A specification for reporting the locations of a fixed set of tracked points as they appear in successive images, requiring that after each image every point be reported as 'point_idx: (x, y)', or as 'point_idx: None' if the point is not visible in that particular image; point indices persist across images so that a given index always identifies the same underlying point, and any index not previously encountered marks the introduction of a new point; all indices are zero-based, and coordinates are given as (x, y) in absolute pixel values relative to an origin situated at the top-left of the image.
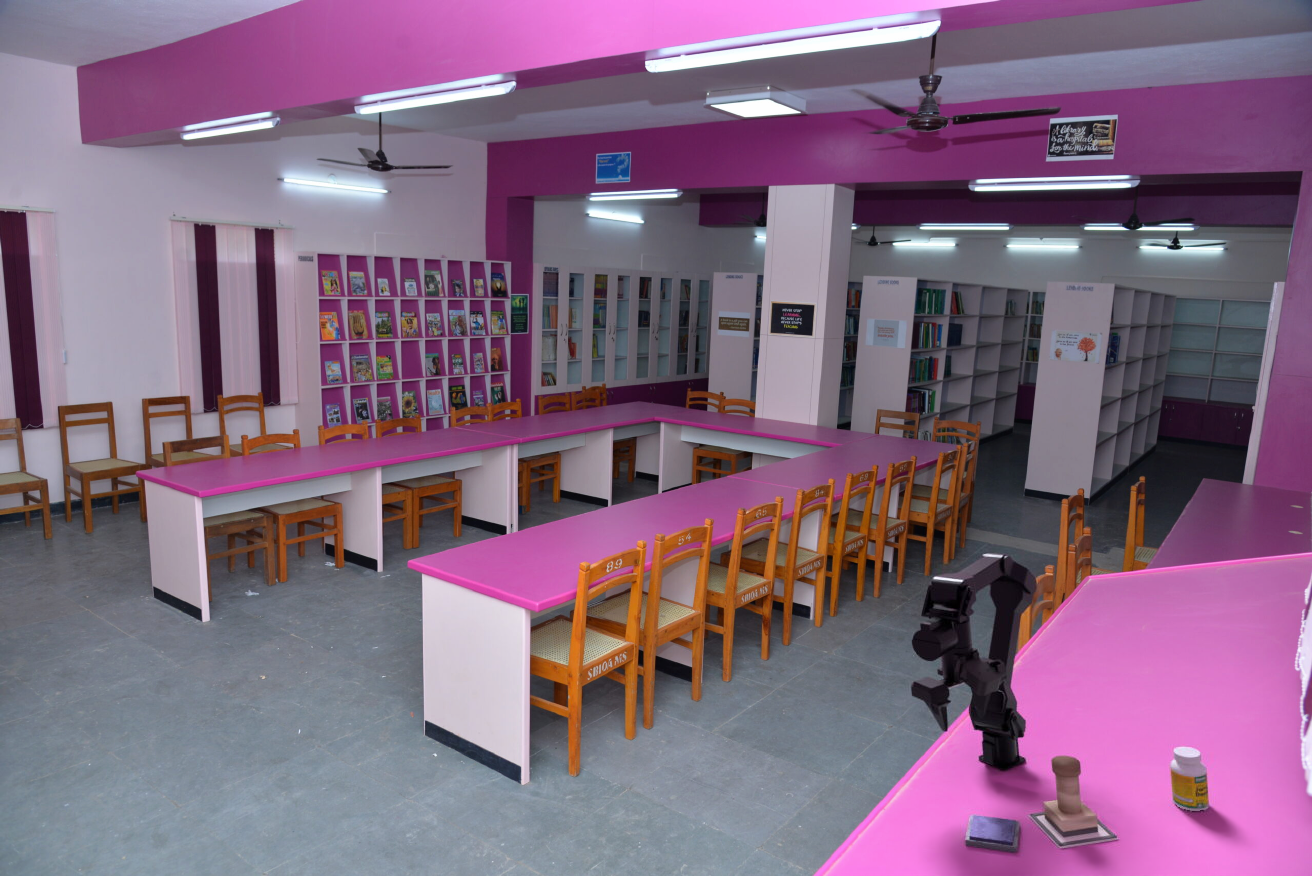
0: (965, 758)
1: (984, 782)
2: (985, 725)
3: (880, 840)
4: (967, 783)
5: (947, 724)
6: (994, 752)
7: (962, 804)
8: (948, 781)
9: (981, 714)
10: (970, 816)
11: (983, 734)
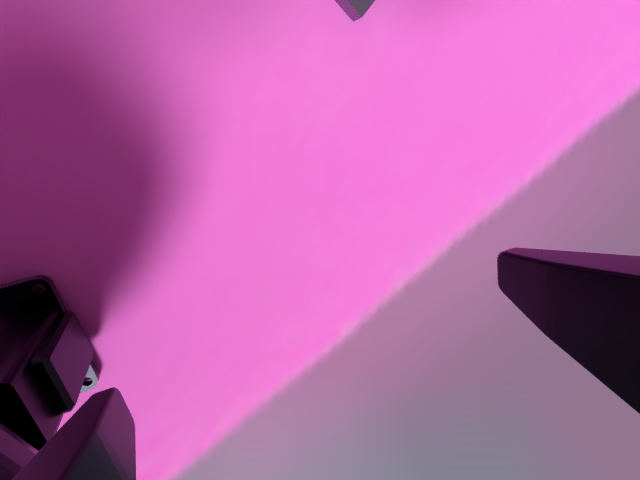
0: (143, 394)
1: (167, 228)
2: (32, 448)
3: (602, 62)
4: (229, 242)
5: (552, 261)
6: (45, 340)
7: (320, 127)
8: (279, 275)
9: (114, 412)
10: (368, 6)
11: (48, 436)
